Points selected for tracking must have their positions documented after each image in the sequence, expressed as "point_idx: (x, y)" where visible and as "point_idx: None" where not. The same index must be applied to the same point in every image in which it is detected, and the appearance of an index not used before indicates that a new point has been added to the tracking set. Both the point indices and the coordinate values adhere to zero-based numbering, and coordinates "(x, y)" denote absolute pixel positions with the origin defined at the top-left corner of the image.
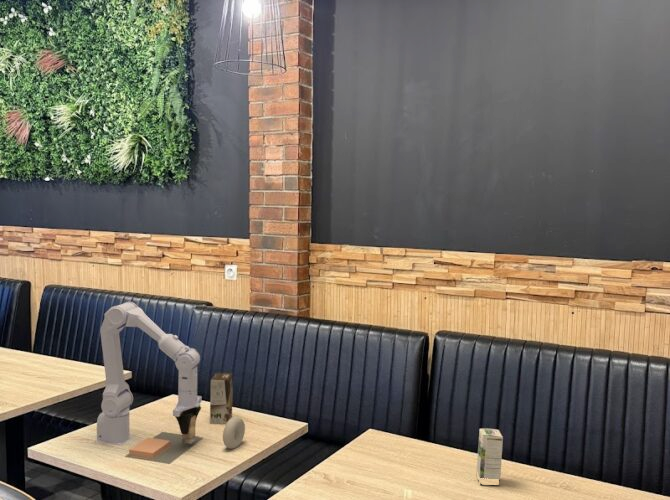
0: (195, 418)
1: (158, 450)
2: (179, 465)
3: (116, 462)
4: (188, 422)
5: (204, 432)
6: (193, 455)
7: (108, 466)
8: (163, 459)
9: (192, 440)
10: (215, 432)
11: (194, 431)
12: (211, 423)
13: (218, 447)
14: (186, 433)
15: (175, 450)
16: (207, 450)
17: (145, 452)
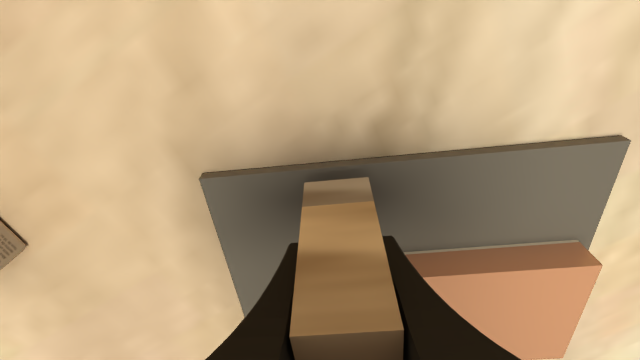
0: (295, 306)
1: (536, 264)
2: (610, 86)
3: (588, 333)
4: (436, 305)
5: (120, 220)
6: (440, 94)
7: (631, 335)
8: (567, 200)
9: (345, 185)
10: (72, 170)
11: (316, 220)
12: (12, 246)
13: (250, 10)
14: (395, 242)
15: (432, 211)
16: (333, 55)
17: (585, 296)
